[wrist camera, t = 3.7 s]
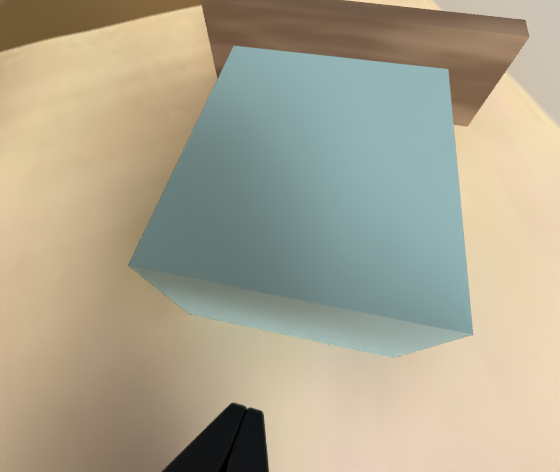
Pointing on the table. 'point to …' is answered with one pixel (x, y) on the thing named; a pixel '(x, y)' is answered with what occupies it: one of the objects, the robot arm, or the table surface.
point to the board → (375, 39)
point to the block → (318, 205)
